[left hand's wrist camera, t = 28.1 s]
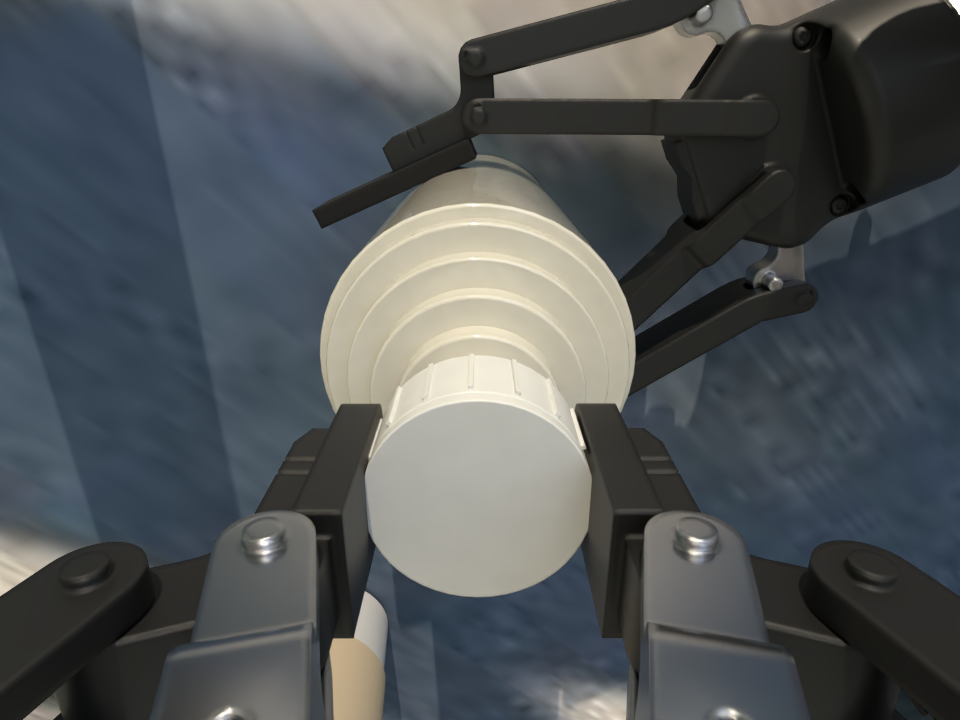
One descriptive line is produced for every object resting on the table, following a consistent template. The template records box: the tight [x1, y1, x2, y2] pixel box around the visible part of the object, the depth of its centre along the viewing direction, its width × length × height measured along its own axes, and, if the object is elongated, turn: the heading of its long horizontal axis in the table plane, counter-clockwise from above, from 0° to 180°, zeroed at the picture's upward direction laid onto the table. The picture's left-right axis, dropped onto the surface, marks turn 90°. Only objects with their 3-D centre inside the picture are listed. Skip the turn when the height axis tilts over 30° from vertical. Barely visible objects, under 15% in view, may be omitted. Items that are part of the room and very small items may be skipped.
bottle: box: [320, 155, 636, 415], centre depth 21 cm, size 8×8×22 cm
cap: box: [364, 354, 592, 597], centre depth 11 cm, size 4×4×2 cm
